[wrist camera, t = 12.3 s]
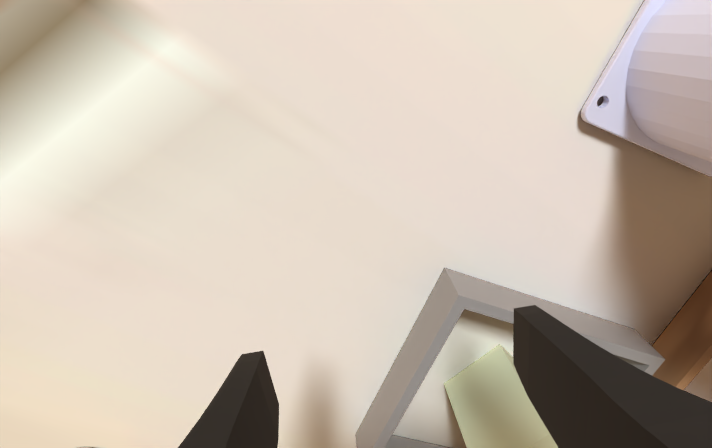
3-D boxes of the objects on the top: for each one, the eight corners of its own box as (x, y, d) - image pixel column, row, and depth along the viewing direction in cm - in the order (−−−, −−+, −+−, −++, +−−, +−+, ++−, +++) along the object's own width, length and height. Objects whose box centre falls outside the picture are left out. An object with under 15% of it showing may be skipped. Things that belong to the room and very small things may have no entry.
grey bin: (444, 267, 23) (458, 295, 20) (634, 329, 25) (665, 359, 23) (355, 434, 27) (359, 472, 25) (525, 471, 30) (543, 509, 27)
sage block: (537, 381, 27) (594, 474, 21) (482, 418, 27) (524, 516, 22) (499, 343, 25) (551, 433, 20) (443, 383, 26) (478, 479, 21)
